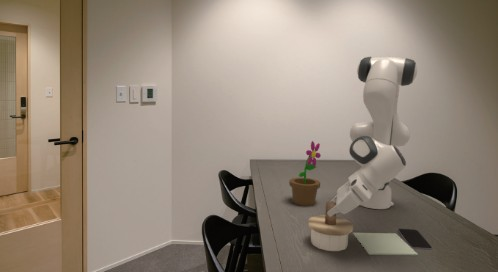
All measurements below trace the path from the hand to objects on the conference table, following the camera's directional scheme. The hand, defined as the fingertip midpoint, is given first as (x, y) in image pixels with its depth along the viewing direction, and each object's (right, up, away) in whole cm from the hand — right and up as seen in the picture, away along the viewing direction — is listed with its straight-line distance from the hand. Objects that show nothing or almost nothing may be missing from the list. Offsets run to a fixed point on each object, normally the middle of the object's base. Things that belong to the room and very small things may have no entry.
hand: (329, 209), depth 115 cm
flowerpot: (-2, -6, +44) cm, 44 cm away
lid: (+1, -6, +1) cm, 6 cm away
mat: (+19, -12, +2) cm, 23 cm away
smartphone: (+32, -13, +6) cm, 35 cm away
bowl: (0, -12, +1) cm, 12 cm away
